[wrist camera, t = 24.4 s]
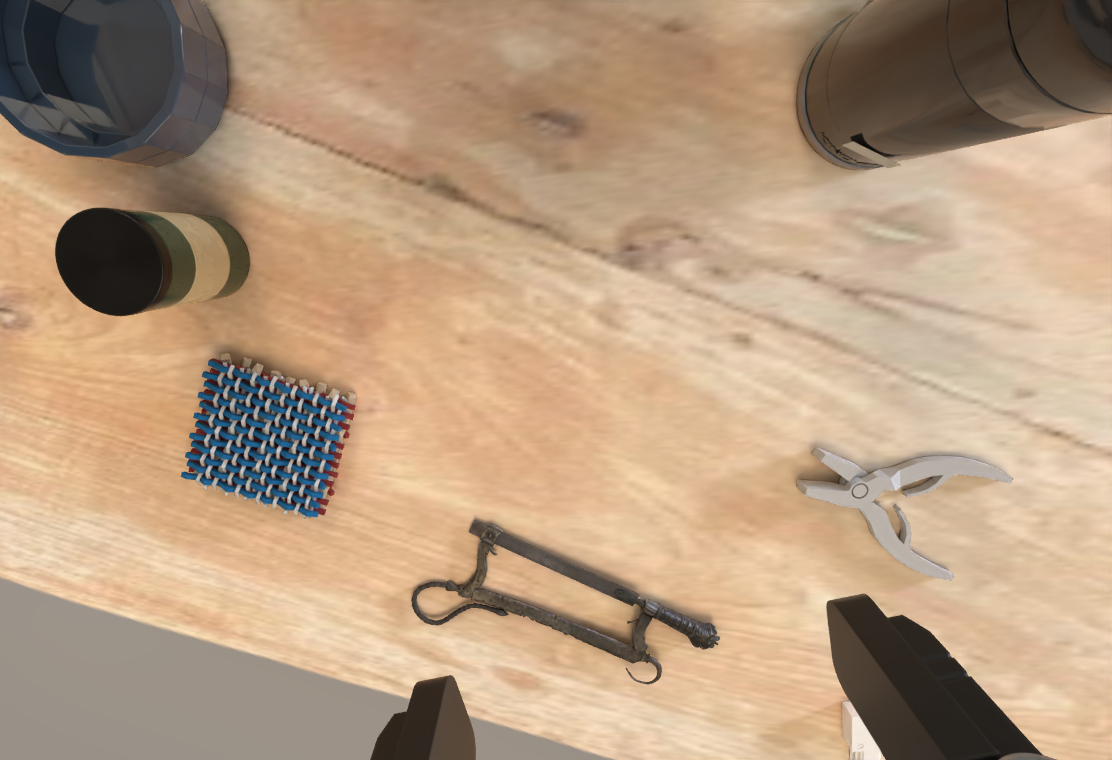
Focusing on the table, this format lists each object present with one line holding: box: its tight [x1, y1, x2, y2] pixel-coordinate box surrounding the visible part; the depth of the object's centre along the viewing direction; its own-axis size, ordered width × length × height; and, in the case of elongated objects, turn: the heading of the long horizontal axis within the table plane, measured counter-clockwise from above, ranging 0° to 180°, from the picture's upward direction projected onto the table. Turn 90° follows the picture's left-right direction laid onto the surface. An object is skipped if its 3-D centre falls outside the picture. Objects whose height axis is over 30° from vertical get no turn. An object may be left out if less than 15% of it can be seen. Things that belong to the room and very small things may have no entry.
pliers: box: [796, 447, 1013, 580], centre depth 43 cm, size 10×2×15 cm
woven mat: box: [181, 353, 357, 519], centre depth 41 cm, size 10×11×2 cm
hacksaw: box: [412, 520, 720, 684], centre depth 45 cm, size 24×10×2 cm, turn 63°
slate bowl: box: [0, 0, 228, 167], centre depth 33 cm, size 12×12×5 cm
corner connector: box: [842, 701, 881, 760], centre depth 48 cm, size 8×8×2 cm
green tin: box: [55, 208, 249, 316], centre depth 34 cm, size 6×6×9 cm
